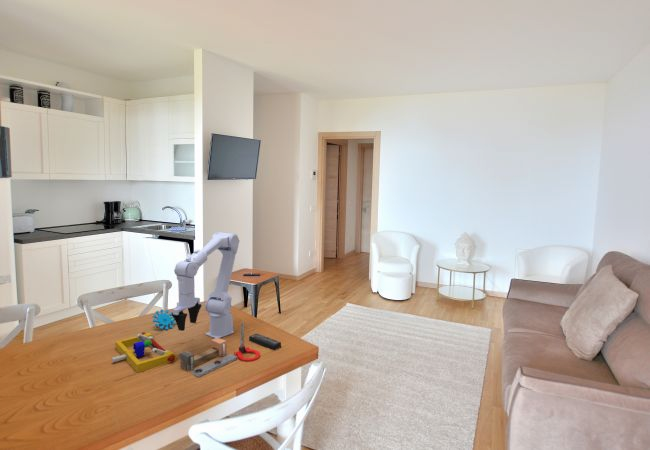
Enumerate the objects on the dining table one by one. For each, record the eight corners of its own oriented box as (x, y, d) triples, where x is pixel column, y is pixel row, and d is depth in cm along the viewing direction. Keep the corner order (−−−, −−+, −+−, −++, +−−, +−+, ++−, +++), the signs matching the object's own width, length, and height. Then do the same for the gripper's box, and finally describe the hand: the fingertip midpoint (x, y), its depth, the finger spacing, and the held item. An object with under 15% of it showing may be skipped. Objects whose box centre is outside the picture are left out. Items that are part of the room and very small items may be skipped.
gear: (156, 329, 170) (151, 309, 174) (151, 336, 173) (146, 316, 177) (180, 326, 177) (175, 307, 182) (175, 333, 180) (170, 313, 185)
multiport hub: (273, 351, 157) (274, 346, 157) (248, 341, 165) (248, 336, 165) (281, 347, 160) (281, 342, 160) (256, 338, 169) (256, 333, 169)
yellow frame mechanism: (147, 322, 166) (177, 346, 145) (148, 337, 167) (178, 363, 146) (99, 334, 154) (123, 362, 132) (100, 349, 155) (124, 379, 133)
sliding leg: (217, 350, 155) (217, 337, 155) (227, 355, 152) (227, 341, 151) (211, 353, 153) (211, 339, 152) (221, 357, 149) (221, 344, 149)
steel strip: (230, 356, 151) (230, 353, 151) (237, 359, 149) (237, 356, 148) (191, 373, 137) (191, 370, 137) (198, 377, 135) (198, 374, 135)
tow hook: (264, 357, 152) (249, 349, 158) (265, 325, 150) (250, 318, 156) (247, 365, 145) (231, 356, 151) (248, 332, 143) (232, 324, 149)
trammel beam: (217, 350, 155) (217, 338, 154) (227, 355, 152) (227, 342, 151) (179, 367, 141) (179, 353, 141) (189, 372, 138) (188, 358, 137)
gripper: (188, 286, 159) (189, 318, 161) (165, 296, 145) (166, 332, 147) (204, 287, 157) (204, 320, 159) (182, 299, 143) (183, 334, 145)
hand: (187, 326), depth 153 cm, fingers open, 7 cm apart
